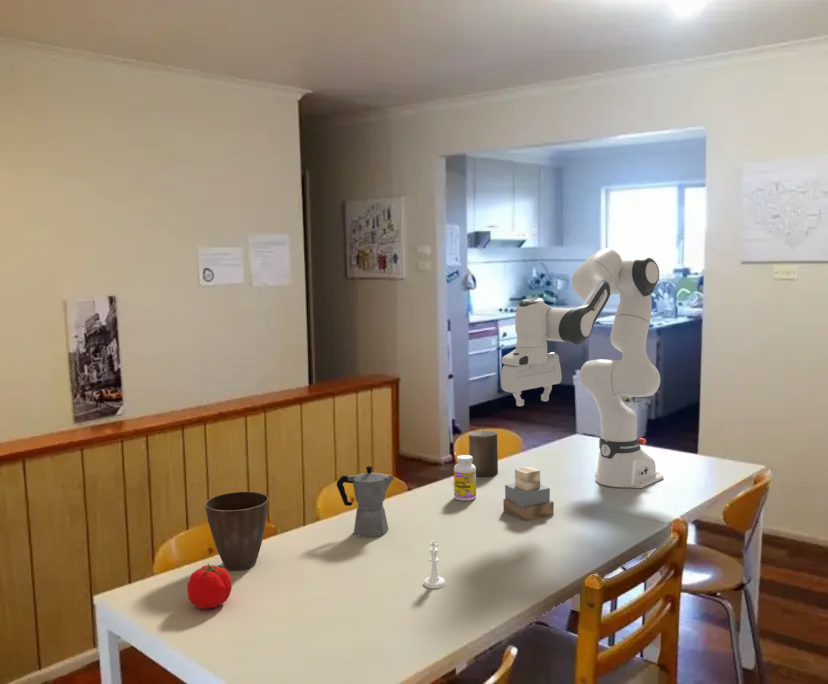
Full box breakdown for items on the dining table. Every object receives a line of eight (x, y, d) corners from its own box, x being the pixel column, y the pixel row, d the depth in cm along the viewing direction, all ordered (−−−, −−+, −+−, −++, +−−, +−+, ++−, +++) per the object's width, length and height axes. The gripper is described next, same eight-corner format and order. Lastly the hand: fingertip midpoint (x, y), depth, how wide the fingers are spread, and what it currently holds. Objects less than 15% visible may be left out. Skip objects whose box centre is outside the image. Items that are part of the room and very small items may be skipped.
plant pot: (204, 559, 192) (200, 496, 190) (263, 548, 198) (261, 487, 196) (213, 581, 178) (210, 514, 177) (277, 569, 184) (274, 504, 182)
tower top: (531, 493, 226) (531, 480, 226) (549, 502, 218) (549, 488, 218) (505, 498, 222) (505, 484, 222) (523, 507, 214) (522, 493, 214)
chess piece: (438, 590, 171) (437, 546, 170) (419, 585, 174) (418, 542, 172) (449, 581, 175) (448, 539, 174) (430, 577, 178) (429, 535, 177)
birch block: (528, 483, 222) (528, 466, 222) (540, 487, 218) (540, 470, 218) (515, 486, 220) (514, 469, 219) (526, 490, 216) (526, 473, 215)
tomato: (191, 618, 160) (188, 579, 160) (184, 598, 170) (182, 562, 169) (236, 609, 164) (234, 571, 163) (227, 590, 174) (225, 554, 173)
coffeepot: (395, 524, 213) (393, 460, 211) (396, 536, 204) (394, 470, 202) (339, 526, 213) (337, 462, 211) (337, 539, 203) (334, 472, 201)
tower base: (530, 506, 227) (530, 492, 227) (553, 515, 219) (553, 501, 218) (503, 512, 222) (503, 499, 221) (526, 522, 213) (526, 508, 213)
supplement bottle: (451, 500, 233) (450, 458, 231) (458, 493, 239) (457, 453, 237) (472, 502, 230) (471, 460, 229) (479, 495, 236) (478, 454, 235)
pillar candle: (499, 476, 256) (498, 432, 254) (469, 477, 256) (469, 432, 255) (496, 469, 266) (496, 426, 264) (468, 469, 266) (467, 426, 264)
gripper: (550, 350, 228) (551, 396, 230) (497, 358, 217) (498, 406, 219) (566, 352, 223) (566, 399, 225) (511, 361, 212) (513, 410, 214)
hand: (532, 403), depth 222 cm, fingers open, 8 cm apart
